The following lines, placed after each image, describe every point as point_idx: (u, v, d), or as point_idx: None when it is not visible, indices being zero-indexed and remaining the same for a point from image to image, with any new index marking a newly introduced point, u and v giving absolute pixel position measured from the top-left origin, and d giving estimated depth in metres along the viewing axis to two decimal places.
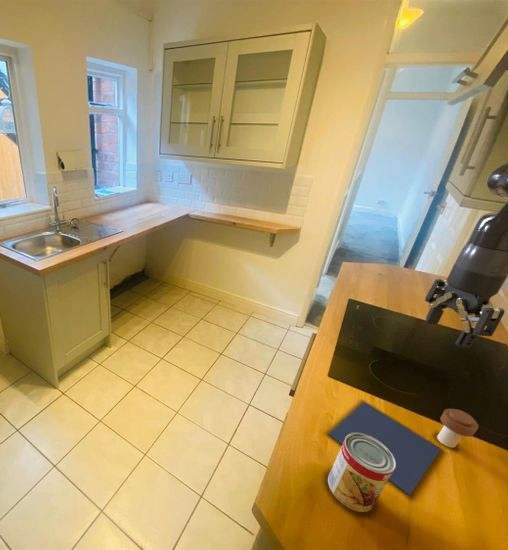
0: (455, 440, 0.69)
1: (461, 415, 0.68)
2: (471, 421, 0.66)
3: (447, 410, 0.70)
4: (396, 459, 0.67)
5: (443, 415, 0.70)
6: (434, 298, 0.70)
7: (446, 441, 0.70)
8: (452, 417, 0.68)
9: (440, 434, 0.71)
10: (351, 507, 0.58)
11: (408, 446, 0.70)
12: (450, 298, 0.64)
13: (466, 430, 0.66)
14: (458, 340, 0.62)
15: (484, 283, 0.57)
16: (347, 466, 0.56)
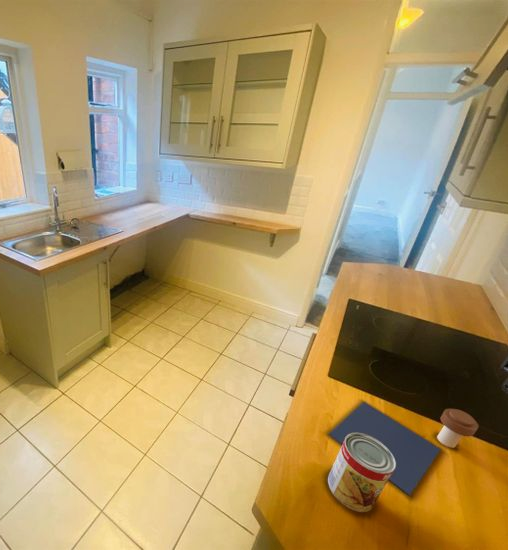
0: (455, 440, 0.69)
1: (461, 415, 0.68)
2: (471, 421, 0.66)
3: (447, 410, 0.70)
4: (396, 459, 0.67)
5: (443, 415, 0.70)
6: None
7: (446, 441, 0.70)
8: (452, 417, 0.68)
9: (440, 434, 0.71)
10: (351, 507, 0.58)
11: (408, 446, 0.70)
12: None
13: (466, 430, 0.66)
14: None
15: None
16: (347, 466, 0.56)
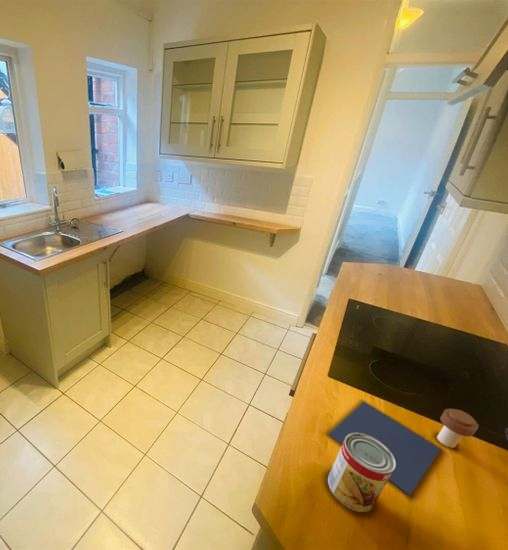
0: (455, 440, 0.69)
1: (461, 415, 0.68)
2: (471, 421, 0.66)
3: (447, 410, 0.70)
4: (396, 459, 0.67)
5: (443, 415, 0.70)
6: None
7: (446, 441, 0.70)
8: (452, 417, 0.68)
9: (440, 434, 0.71)
10: (351, 507, 0.58)
11: (408, 446, 0.70)
12: None
13: (466, 430, 0.66)
14: None
15: None
16: (347, 466, 0.56)
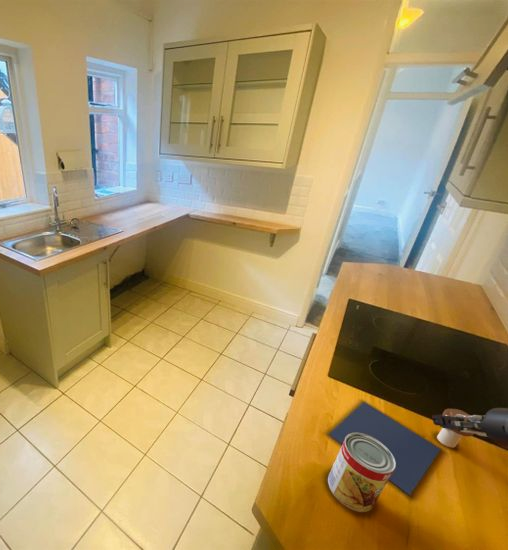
0: (455, 440, 0.69)
1: None
2: None
3: (447, 410, 0.70)
4: (396, 459, 0.67)
5: (443, 415, 0.70)
6: None
7: (446, 441, 0.70)
8: None
9: (440, 434, 0.71)
10: (351, 507, 0.58)
11: (408, 446, 0.70)
12: None
13: None
14: None
15: None
16: (347, 466, 0.56)
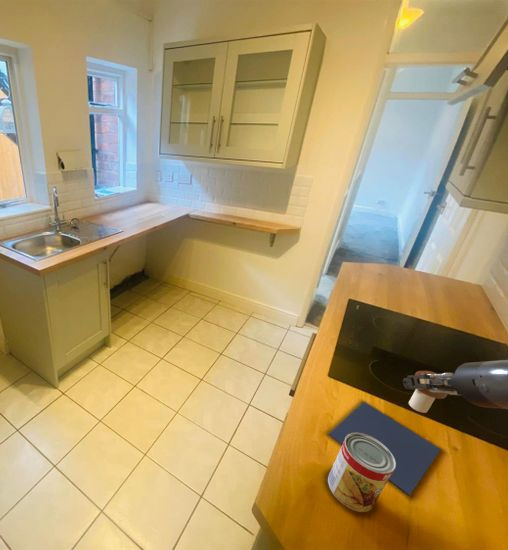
0: (427, 404, 0.63)
1: None
2: None
3: (419, 372, 0.65)
4: (396, 459, 0.67)
5: None
6: None
7: (417, 406, 0.64)
8: None
9: (411, 399, 0.66)
10: (351, 507, 0.58)
11: (408, 446, 0.70)
12: None
13: None
14: None
15: None
16: (347, 466, 0.56)
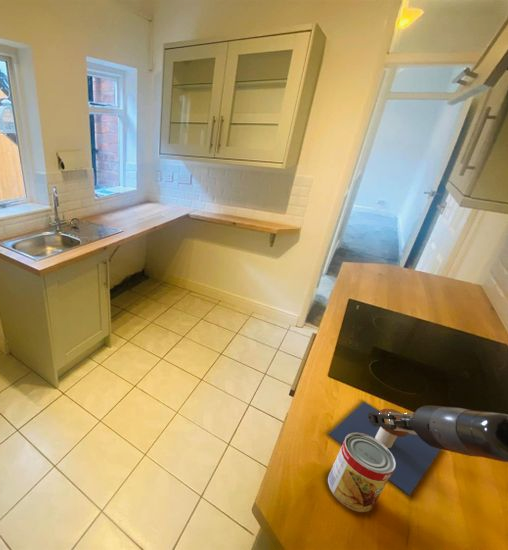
0: (390, 440, 0.68)
1: None
2: None
3: (383, 410, 0.69)
4: (396, 459, 0.67)
5: None
6: (377, 420, 0.64)
7: (382, 441, 0.69)
8: None
9: (377, 434, 0.71)
10: (351, 507, 0.58)
11: (408, 446, 0.70)
12: None
13: None
14: None
15: None
16: (347, 466, 0.56)
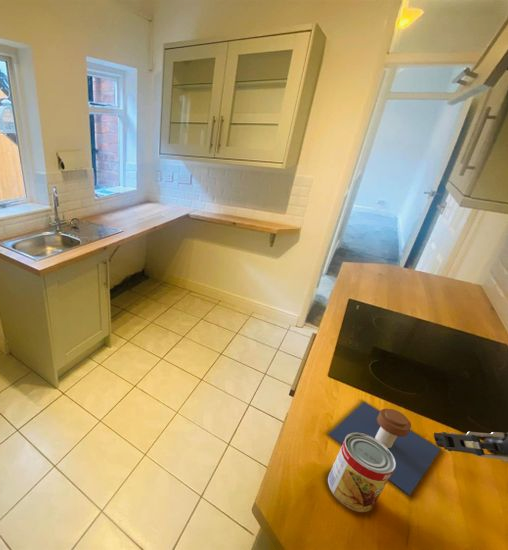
0: (390, 440, 0.68)
1: (395, 415, 0.67)
2: (404, 421, 0.66)
3: (383, 410, 0.69)
4: (396, 459, 0.67)
5: (379, 415, 0.69)
6: (452, 442, 0.49)
7: (382, 441, 0.69)
8: (386, 417, 0.67)
9: (377, 434, 0.71)
10: (351, 507, 0.58)
11: (408, 446, 0.70)
12: None
13: (398, 430, 0.65)
14: None
15: None
16: (347, 466, 0.56)
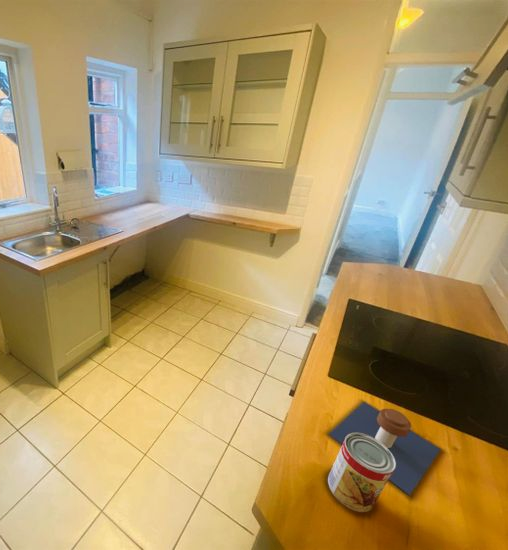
0: (390, 440, 0.68)
1: (395, 415, 0.67)
2: (404, 421, 0.66)
3: (383, 410, 0.69)
4: (396, 459, 0.67)
5: (379, 415, 0.69)
6: None
7: (382, 441, 0.69)
8: (386, 417, 0.67)
9: (377, 434, 0.71)
10: (351, 507, 0.58)
11: (408, 446, 0.70)
12: None
13: (398, 430, 0.65)
14: None
15: None
16: (347, 466, 0.56)
